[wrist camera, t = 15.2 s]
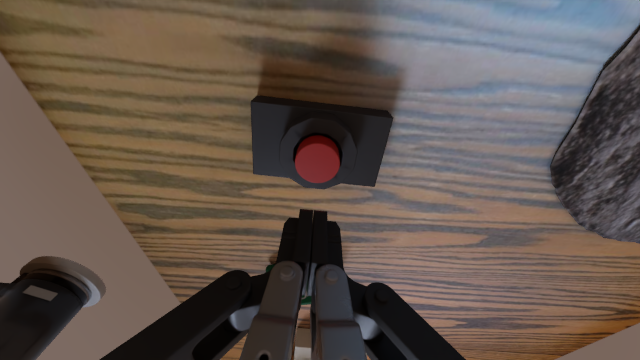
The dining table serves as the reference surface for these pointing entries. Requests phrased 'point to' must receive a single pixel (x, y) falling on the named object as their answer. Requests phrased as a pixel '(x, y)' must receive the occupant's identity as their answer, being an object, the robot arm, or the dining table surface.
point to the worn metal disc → (605, 153)
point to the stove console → (303, 344)
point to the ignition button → (317, 159)
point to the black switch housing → (318, 119)
